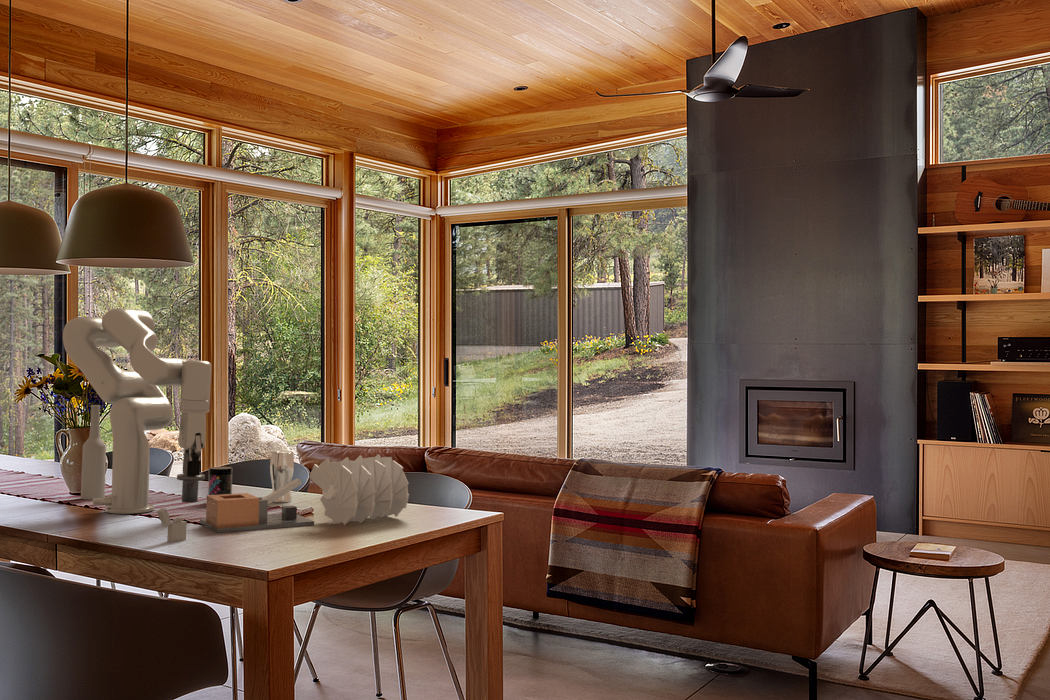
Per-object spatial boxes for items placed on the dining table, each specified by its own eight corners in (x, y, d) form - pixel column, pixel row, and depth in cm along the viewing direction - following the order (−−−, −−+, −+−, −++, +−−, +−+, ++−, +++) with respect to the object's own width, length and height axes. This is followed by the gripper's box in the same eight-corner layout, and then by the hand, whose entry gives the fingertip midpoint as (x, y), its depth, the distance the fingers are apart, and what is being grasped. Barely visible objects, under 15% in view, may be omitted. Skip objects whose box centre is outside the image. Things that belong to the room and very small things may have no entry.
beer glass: (267, 500, 283) (268, 451, 283) (290, 499, 286) (291, 450, 286) (271, 503, 277) (272, 453, 277) (294, 502, 280) (296, 452, 280)
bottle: (95, 500, 276) (98, 406, 277) (75, 499, 278) (78, 405, 278) (109, 497, 283) (112, 405, 283) (90, 496, 284) (93, 404, 285)
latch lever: (262, 507, 241) (259, 503, 240) (259, 506, 243) (257, 501, 242) (302, 483, 247) (299, 479, 246) (299, 482, 249) (296, 478, 248)
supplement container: (208, 501, 279) (209, 466, 279) (232, 501, 280) (233, 466, 281) (206, 504, 272) (207, 469, 272) (230, 504, 274) (231, 469, 274)
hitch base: (216, 533, 228) (217, 502, 228) (199, 523, 241) (200, 494, 241) (314, 525, 241) (315, 496, 242) (293, 516, 255) (294, 488, 255)
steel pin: (179, 504, 243) (181, 454, 243) (172, 499, 249) (175, 451, 249) (206, 502, 247) (209, 454, 247) (199, 498, 253) (202, 451, 253)
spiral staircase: (404, 532, 257) (336, 539, 237) (366, 498, 267) (297, 503, 247) (429, 474, 253) (361, 477, 233) (389, 443, 263) (321, 443, 243)
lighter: (181, 538, 220) (182, 505, 220) (186, 539, 219) (187, 505, 219) (155, 543, 214) (156, 508, 214) (160, 544, 213) (161, 509, 213)
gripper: (172, 403, 253) (169, 470, 253) (187, 408, 239) (184, 479, 239) (201, 404, 257) (197, 470, 257) (217, 409, 243) (213, 478, 243)
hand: (191, 473), depth 248 cm, fingers closed on steel pin, 4 cm apart
